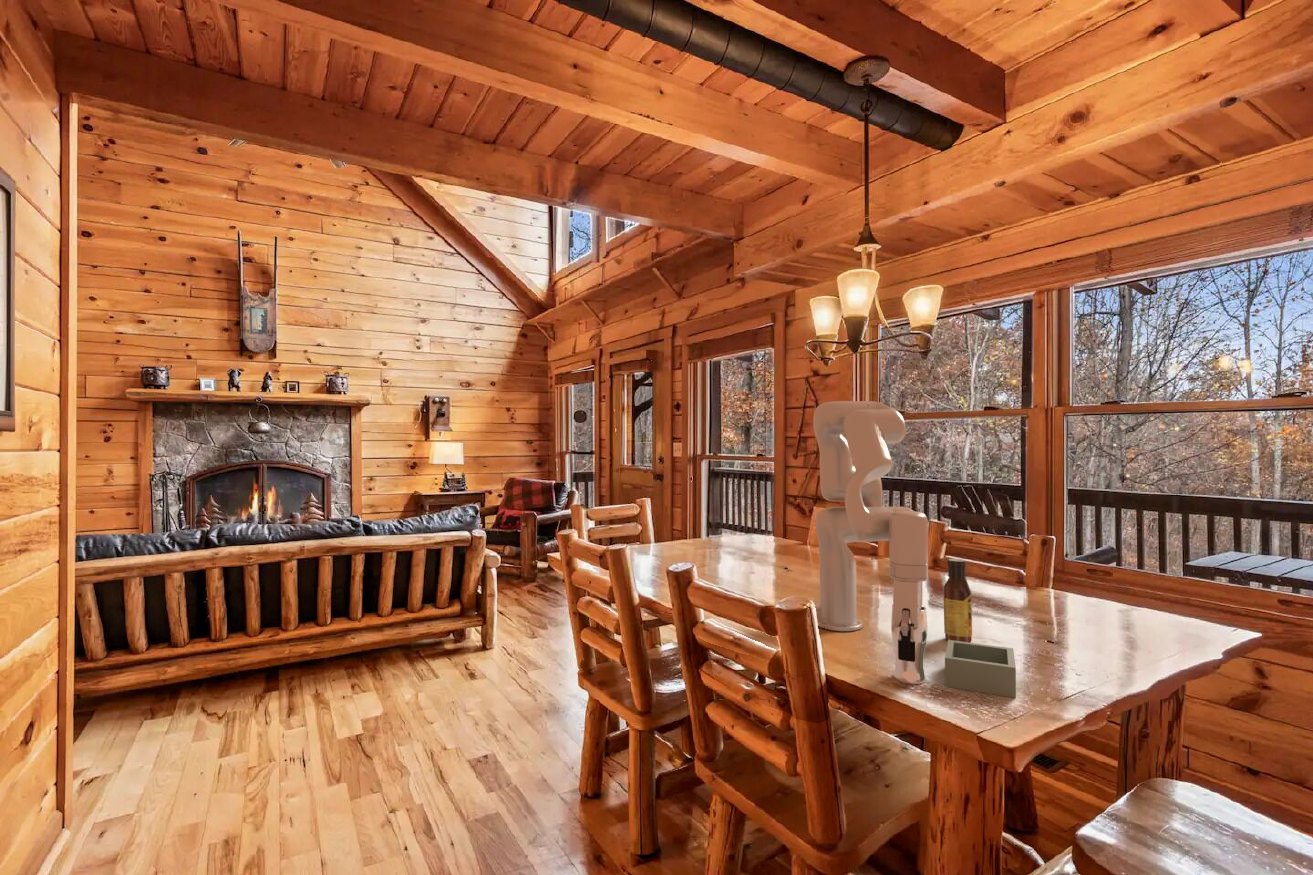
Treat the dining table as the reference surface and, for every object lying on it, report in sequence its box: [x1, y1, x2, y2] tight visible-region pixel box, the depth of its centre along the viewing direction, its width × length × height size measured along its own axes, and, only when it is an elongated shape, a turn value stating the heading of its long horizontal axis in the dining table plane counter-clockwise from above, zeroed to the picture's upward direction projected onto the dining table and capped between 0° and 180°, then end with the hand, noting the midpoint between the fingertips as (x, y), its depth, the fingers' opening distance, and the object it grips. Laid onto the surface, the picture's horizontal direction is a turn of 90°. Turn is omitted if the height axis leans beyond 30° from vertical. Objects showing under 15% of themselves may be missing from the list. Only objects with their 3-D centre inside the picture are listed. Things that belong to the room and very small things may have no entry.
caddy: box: [944, 640, 1017, 699], centre depth 128 cm, size 12×12×6 cm
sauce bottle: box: [943, 558, 973, 643], centre depth 154 cm, size 6×6×20 cm
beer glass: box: [890, 604, 928, 685], centre depth 130 cm, size 7×7×15 cm
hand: (909, 652), depth 130 cm, fingers open, 9 cm apart
